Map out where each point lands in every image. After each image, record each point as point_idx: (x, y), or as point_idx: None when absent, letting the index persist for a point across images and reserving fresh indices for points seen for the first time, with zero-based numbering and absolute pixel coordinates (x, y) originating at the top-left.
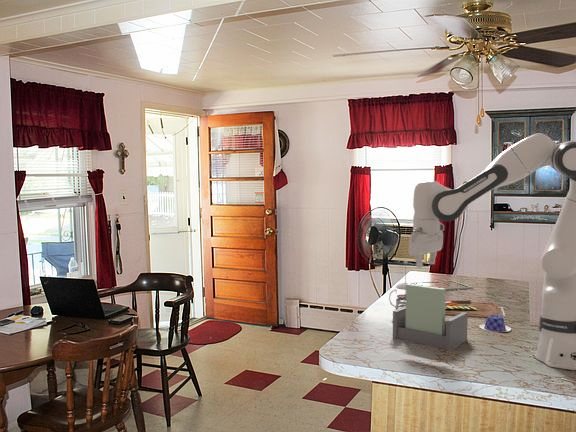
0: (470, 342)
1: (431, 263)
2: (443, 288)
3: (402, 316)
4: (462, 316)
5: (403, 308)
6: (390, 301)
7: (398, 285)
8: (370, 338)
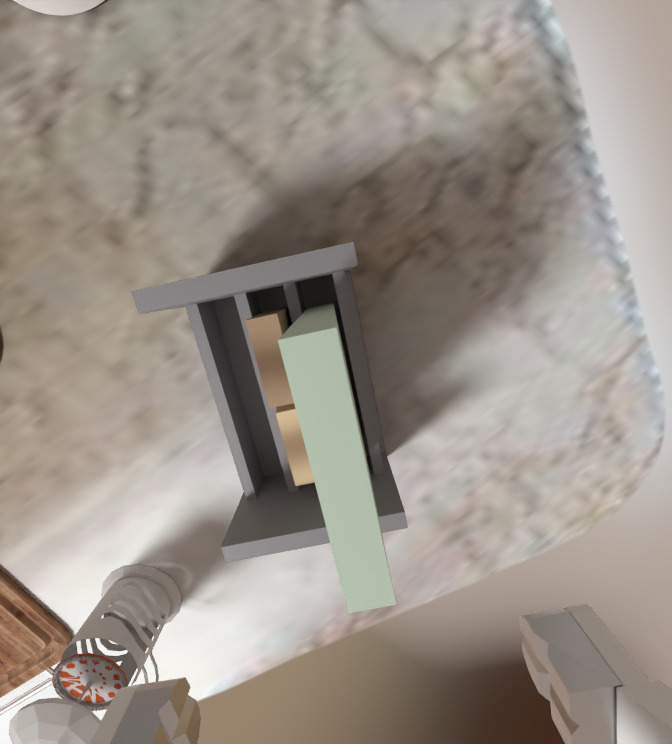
0: None
1: (183, 700)
2: (293, 351)
3: None
4: (202, 276)
5: None
6: None
7: None
8: (408, 520)
